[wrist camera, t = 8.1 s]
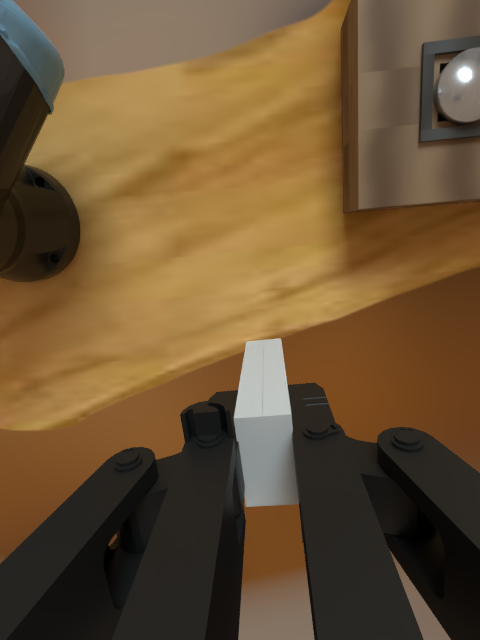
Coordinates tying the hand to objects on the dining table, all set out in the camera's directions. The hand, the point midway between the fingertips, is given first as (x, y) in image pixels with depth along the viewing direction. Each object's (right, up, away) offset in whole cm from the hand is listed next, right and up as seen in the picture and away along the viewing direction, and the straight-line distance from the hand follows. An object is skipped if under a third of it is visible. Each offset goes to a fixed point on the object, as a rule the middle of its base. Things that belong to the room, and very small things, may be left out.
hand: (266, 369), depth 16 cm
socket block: (+21, +26, +26) cm, 42 cm away
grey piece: (+21, +26, +25) cm, 42 cm away
